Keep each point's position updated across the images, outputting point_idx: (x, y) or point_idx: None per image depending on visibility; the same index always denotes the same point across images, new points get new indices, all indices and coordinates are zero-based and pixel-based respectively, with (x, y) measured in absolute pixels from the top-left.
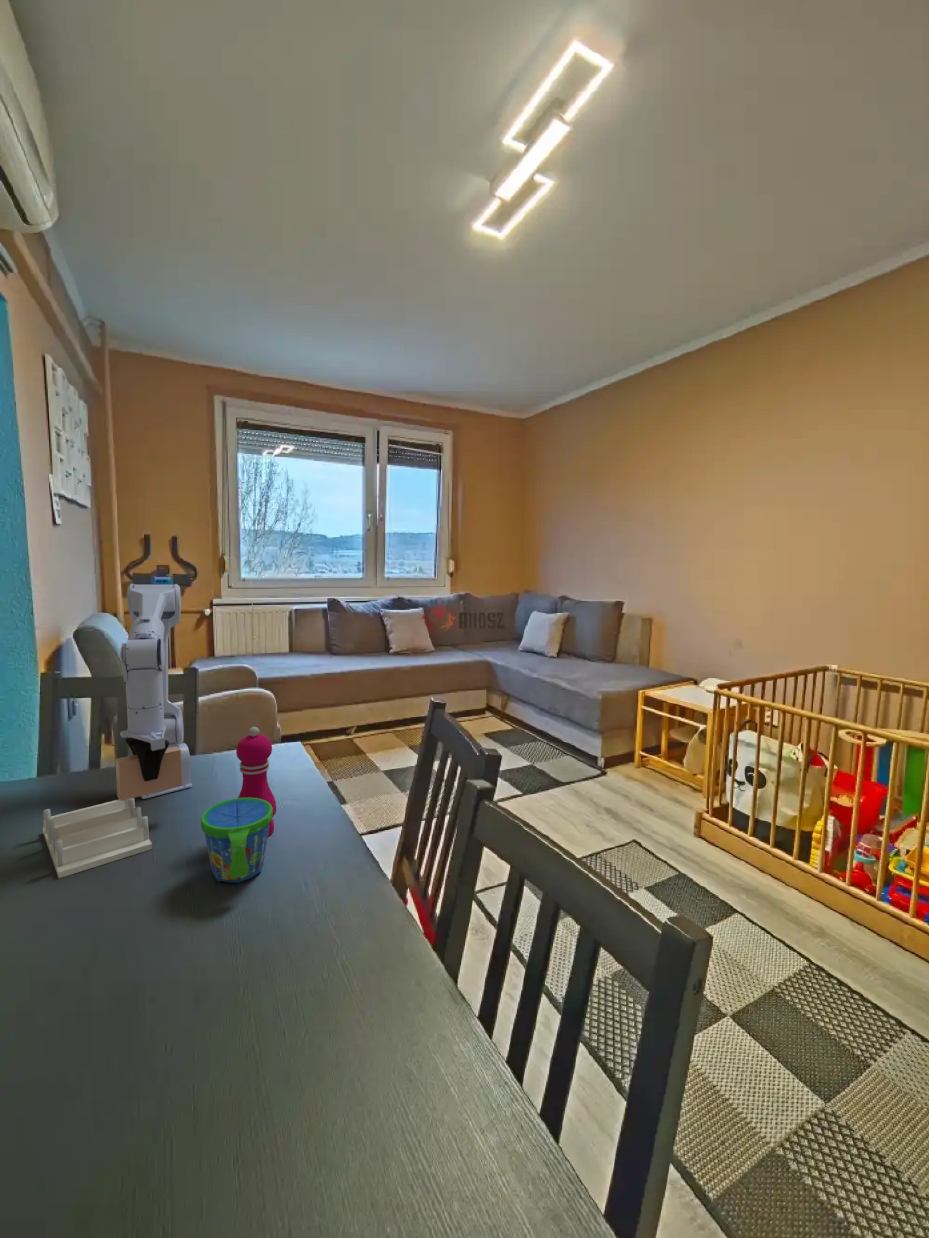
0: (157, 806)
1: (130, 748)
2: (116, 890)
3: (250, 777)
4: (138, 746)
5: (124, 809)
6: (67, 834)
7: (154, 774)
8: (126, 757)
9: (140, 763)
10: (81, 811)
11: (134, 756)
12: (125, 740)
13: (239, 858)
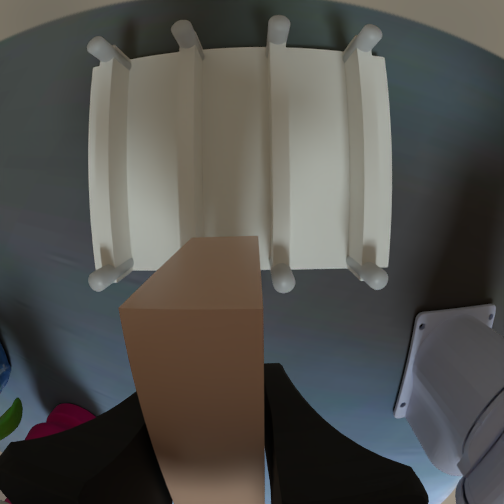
0: (351, 335)
1: (337, 452)
2: (2, 174)
3: (6, 498)
4: (24, 496)
5: (276, 249)
6: (193, 69)
7: None
8: (232, 386)
9: (120, 412)
10: (362, 130)
11: (220, 429)
12: (374, 497)
13: None
